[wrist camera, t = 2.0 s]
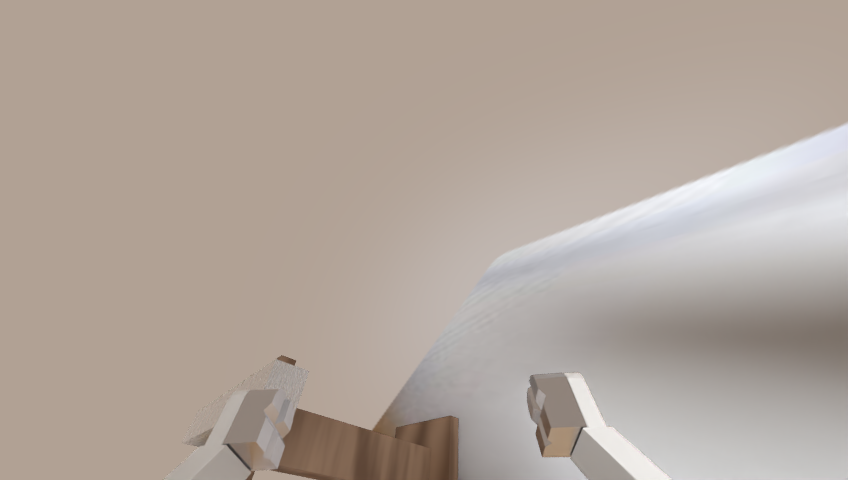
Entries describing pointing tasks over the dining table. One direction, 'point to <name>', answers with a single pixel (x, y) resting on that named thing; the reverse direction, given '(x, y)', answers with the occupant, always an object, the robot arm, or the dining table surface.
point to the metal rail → (266, 378)
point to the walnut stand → (368, 449)
